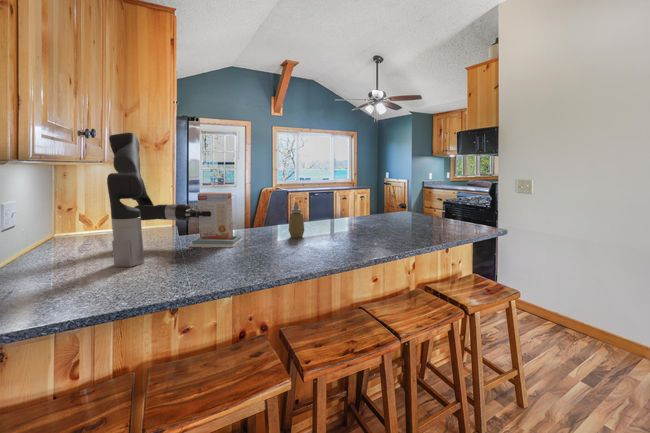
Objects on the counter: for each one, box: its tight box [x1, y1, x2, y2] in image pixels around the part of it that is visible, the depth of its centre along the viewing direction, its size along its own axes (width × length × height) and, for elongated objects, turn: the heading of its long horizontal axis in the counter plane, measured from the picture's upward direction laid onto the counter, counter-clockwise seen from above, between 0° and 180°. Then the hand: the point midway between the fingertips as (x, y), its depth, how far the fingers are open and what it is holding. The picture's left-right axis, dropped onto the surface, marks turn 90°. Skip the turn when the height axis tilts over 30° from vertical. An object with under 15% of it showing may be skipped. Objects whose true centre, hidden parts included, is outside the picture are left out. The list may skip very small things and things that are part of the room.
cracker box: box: [197, 191, 234, 239], centre depth 155 cm, size 14×6×21 cm, turn 84°
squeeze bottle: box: [288, 201, 305, 239], centre depth 170 cm, size 8×8×18 cm
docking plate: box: [189, 235, 244, 248], centre depth 157 cm, size 14×20×2 cm
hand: (213, 213), depth 155 cm, fingers closed on cracker box, 6 cm apart
